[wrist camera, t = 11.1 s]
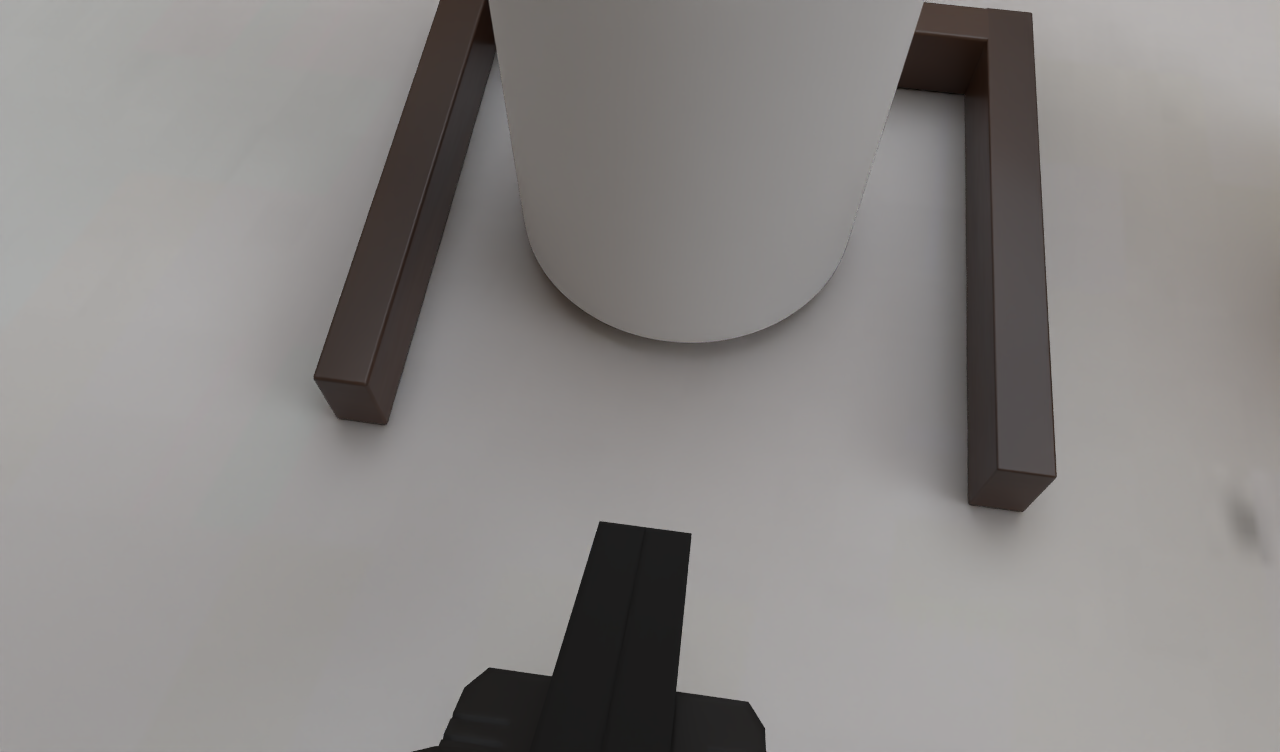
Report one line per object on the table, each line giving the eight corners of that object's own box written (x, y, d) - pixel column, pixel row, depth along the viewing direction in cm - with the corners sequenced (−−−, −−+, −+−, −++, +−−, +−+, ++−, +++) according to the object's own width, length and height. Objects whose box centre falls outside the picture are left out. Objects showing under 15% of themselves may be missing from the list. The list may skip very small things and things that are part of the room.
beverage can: (461, 257, 25) (332, -225, 14) (638, 56, 28) (640, -459, 18) (744, 417, 23) (837, -7, 12) (900, 180, 26) (1081, -317, 16)
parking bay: (336, 419, 23) (311, 377, 21) (466, 9, 29) (455, -49, 27) (1023, 513, 22) (1057, 477, 20) (1007, 68, 28) (1032, 12, 26)
